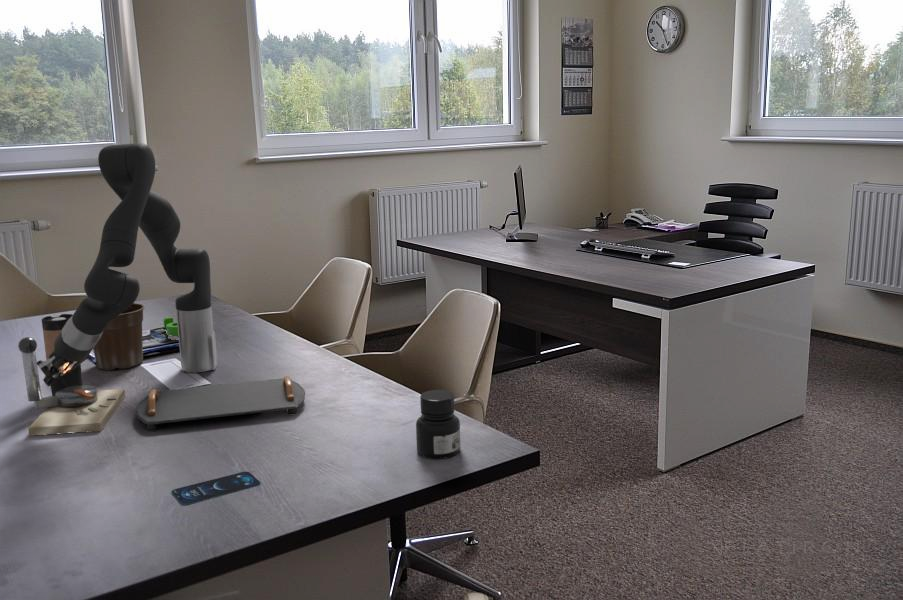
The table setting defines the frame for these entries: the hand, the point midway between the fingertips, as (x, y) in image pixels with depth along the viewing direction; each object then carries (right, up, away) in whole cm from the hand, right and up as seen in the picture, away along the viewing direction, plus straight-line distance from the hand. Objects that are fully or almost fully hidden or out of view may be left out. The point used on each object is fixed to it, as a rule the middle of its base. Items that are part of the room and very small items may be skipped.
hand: (48, 382), depth 191 cm
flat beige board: (+5, -8, +6) cm, 11 cm away
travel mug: (-5, -5, +21) cm, 23 cm away
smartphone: (+48, -17, -34) cm, 61 cm away
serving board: (+37, -8, +9) cm, 39 cm away
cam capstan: (+2, -6, +6) cm, 9 cm away
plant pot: (-2, 0, +47) cm, 47 cm away
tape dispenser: (+4, +7, +78) cm, 78 cm away
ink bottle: (+89, -12, -19) cm, 92 cm away
